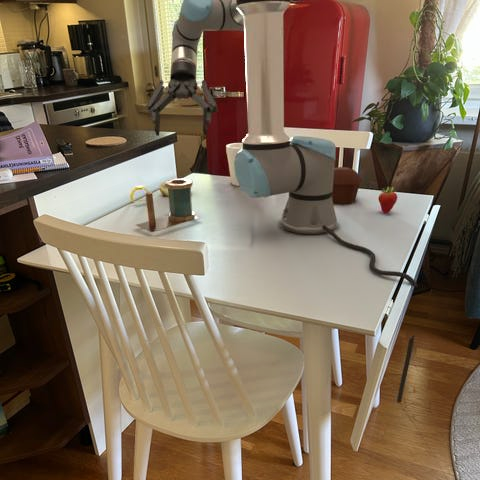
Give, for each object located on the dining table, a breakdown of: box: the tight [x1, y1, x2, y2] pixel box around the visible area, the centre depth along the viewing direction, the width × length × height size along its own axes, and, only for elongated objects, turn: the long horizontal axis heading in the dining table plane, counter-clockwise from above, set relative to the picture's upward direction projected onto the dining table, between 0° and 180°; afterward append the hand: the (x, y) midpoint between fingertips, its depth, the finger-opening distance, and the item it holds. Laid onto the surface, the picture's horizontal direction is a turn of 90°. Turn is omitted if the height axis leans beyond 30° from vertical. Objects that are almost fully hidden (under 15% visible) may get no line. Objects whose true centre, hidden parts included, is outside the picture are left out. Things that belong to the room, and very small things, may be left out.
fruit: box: [377, 186, 398, 214], centre depth 139 cm, size 5×5×8 cm
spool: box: [164, 178, 196, 222], centre depth 134 cm, size 7×7×10 cm
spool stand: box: [135, 191, 199, 233], centre depth 132 cm, size 16×8×10 cm, turn 133°
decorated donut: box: [159, 181, 169, 198], centre depth 161 cm, size 10×11×4 cm
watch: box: [130, 184, 149, 203], centre depth 150 cm, size 6×3×6 cm, turn 119°
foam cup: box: [225, 142, 243, 187], centre depth 169 cm, size 10×9×13 cm
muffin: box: [332, 166, 363, 206], centre depth 150 cm, size 12×11×10 cm
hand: (180, 132), depth 135 cm, fingers open, 13 cm apart
